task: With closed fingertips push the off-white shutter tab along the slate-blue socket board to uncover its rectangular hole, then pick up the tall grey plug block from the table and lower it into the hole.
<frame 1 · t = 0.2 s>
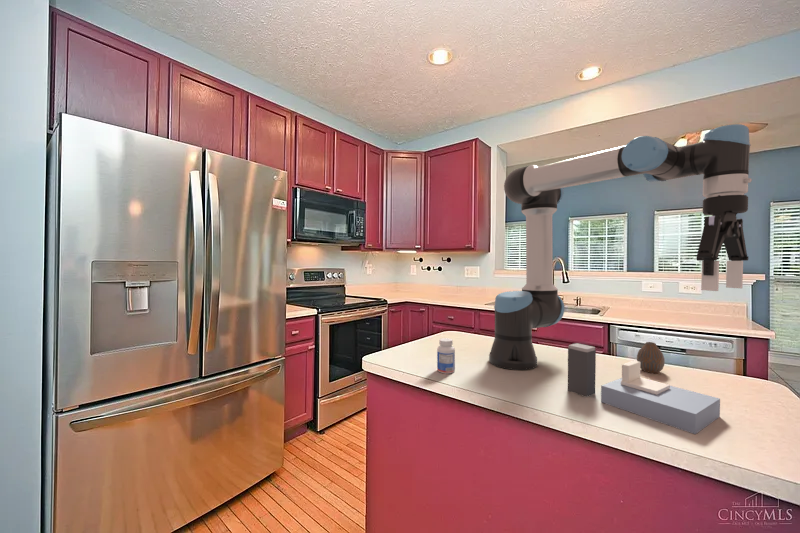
hand: (722, 289, 79), 28 cm above the counter, fingers open, 13 cm apart
shutter: (645, 376, 82), point 6 cm above the counter, slide at 0.0 cm
socket board: (657, 408, 79), on the counter
pill bottle: (446, 371, 105), on the counter
vase: (650, 371, 105), on the counter
plug: (581, 392, 89), on the counter
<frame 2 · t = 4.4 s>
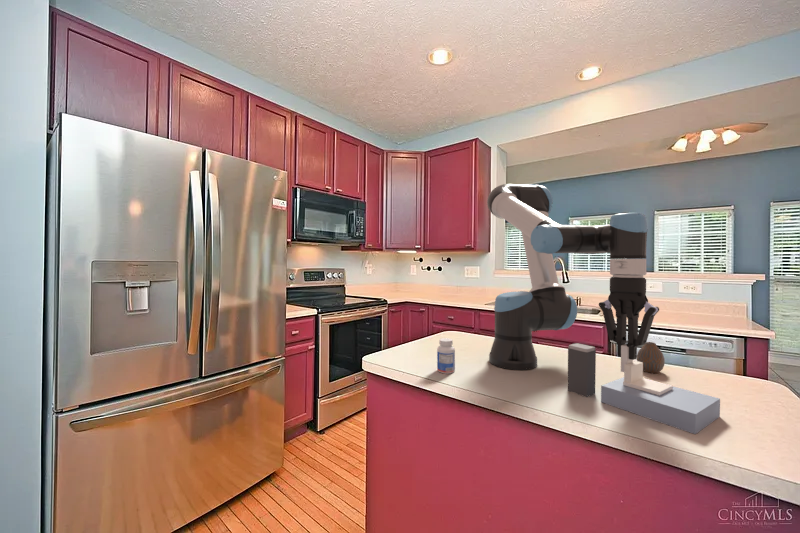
hand: (626, 371, 85), 7 cm above the counter, fingers closed
shutter: (647, 376, 81), point 6 cm above the counter, slide at 0.5 cm, touching gripper
everything else where it was.
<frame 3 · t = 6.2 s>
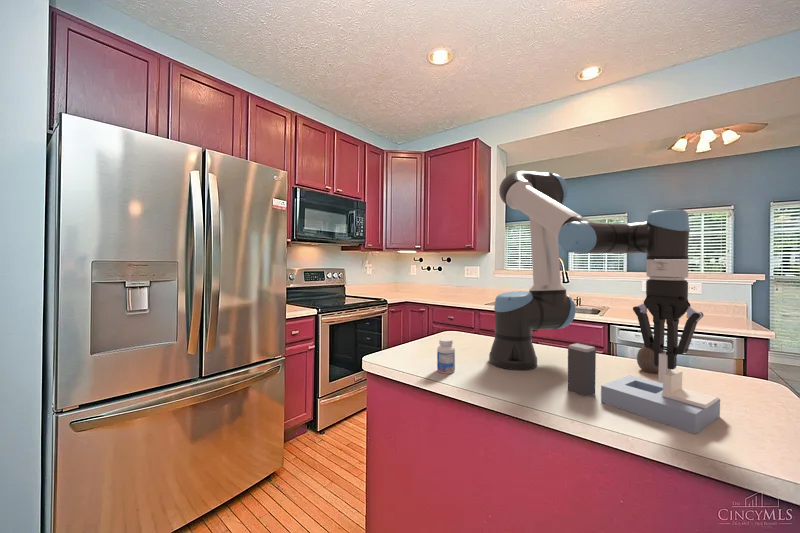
hand: (664, 381, 78), 6 cm above the counter, fingers closed
shutter: (689, 387, 74), point 6 cm above the counter, slide at 8.5 cm, touching gripper
everything else where it was.
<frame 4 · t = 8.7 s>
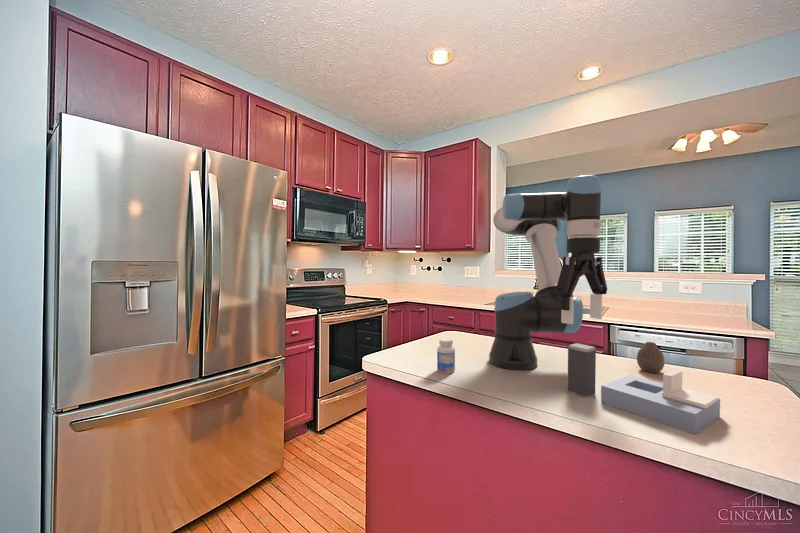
hand: (582, 320, 88), 19 cm above the counter, fingers open, 12 cm apart
shutter: (689, 387, 74), point 6 cm above the counter, slide at 8.5 cm
everything else where it was.
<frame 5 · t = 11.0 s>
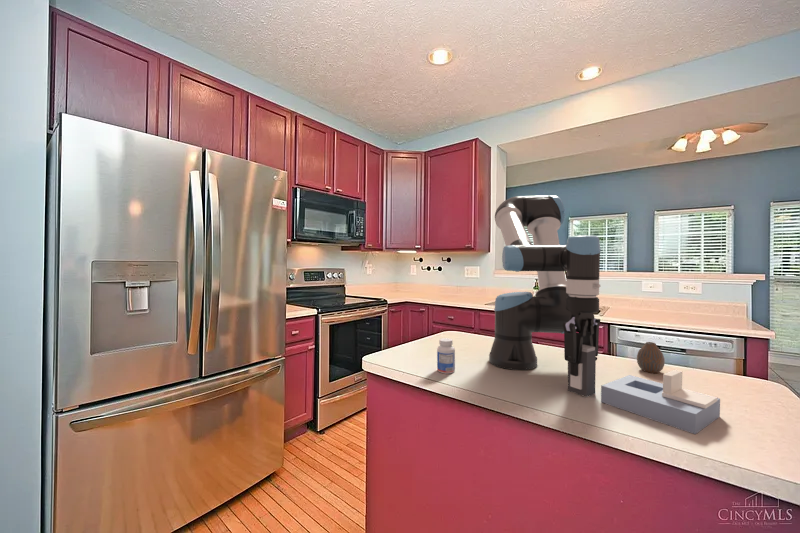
hand: (581, 385, 89), 2 cm above the counter, fingers closed on plug, 4 cm apart
plug: (581, 392, 89), on the counter, touching gripper
everything else where it was.
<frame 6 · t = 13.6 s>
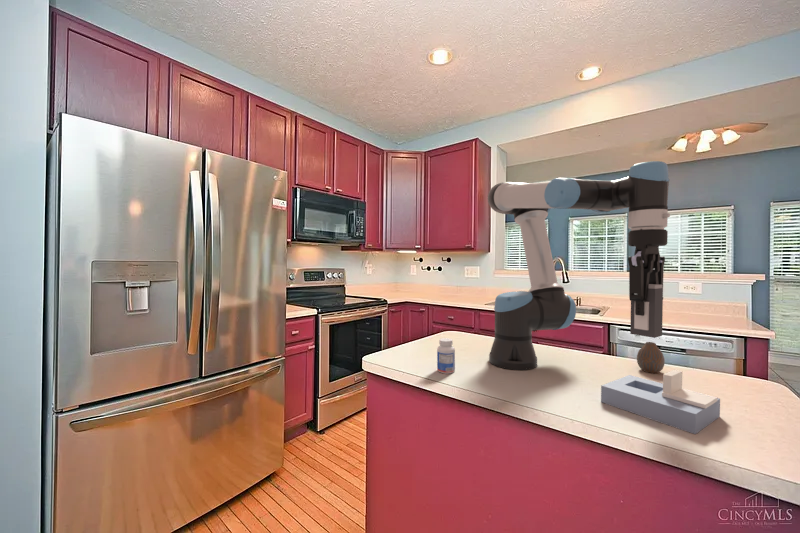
hand: (646, 327, 81), 18 cm above the counter, fingers closed on plug, 4 cm apart
plug: (646, 334, 81), point 16 cm above the counter, touching gripper
everything else where it was.
when the fingers open (5 cm above the counter, at t = 16.1 s): plug drops 3 cm, resting in socket board.
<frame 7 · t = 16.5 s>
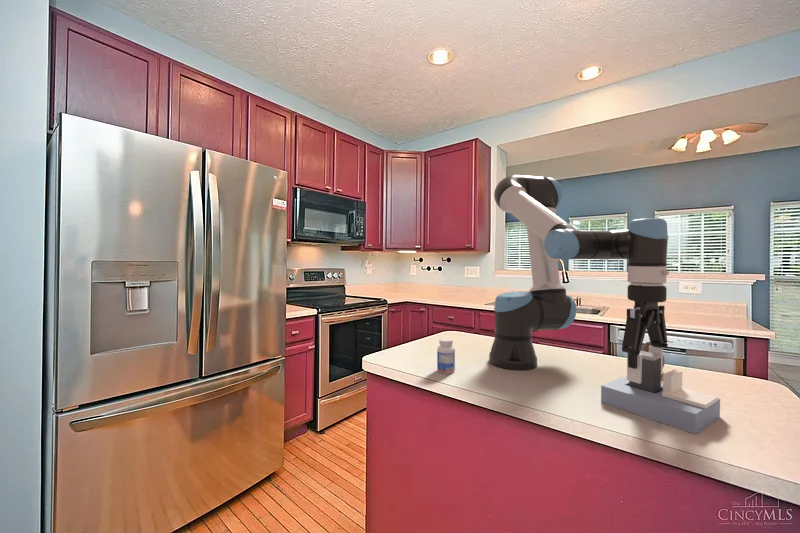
hand: (645, 377, 82), 6 cm above the counter, fingers open, 10 cm apart
plug: (644, 403, 82), resting in socket board
everything else where it was.
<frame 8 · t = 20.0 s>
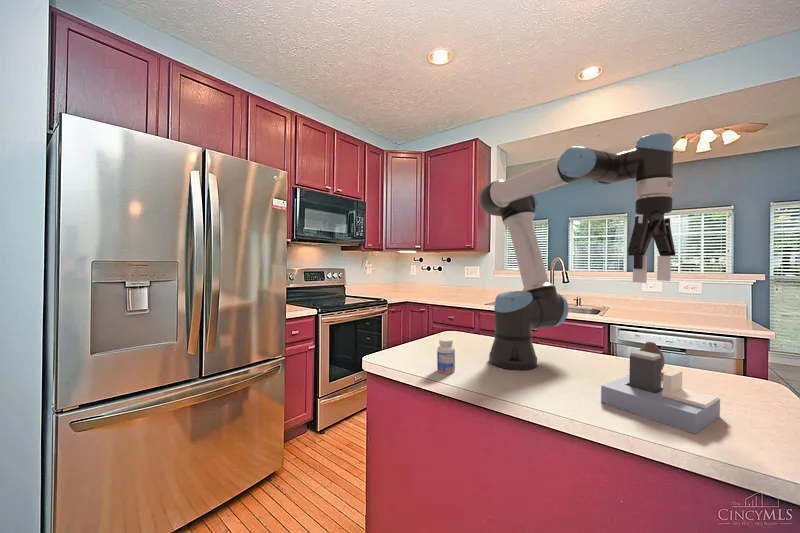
hand: (652, 281, 87), 29 cm above the counter, fingers open, 13 cm apart
nothing on the counter moved.
at the end: plug 0.0 cm from the target spot on the socket board, point 0.0 cm above the socket board's base; plug tilted 0°; shutter slide at 8.5 cm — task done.
